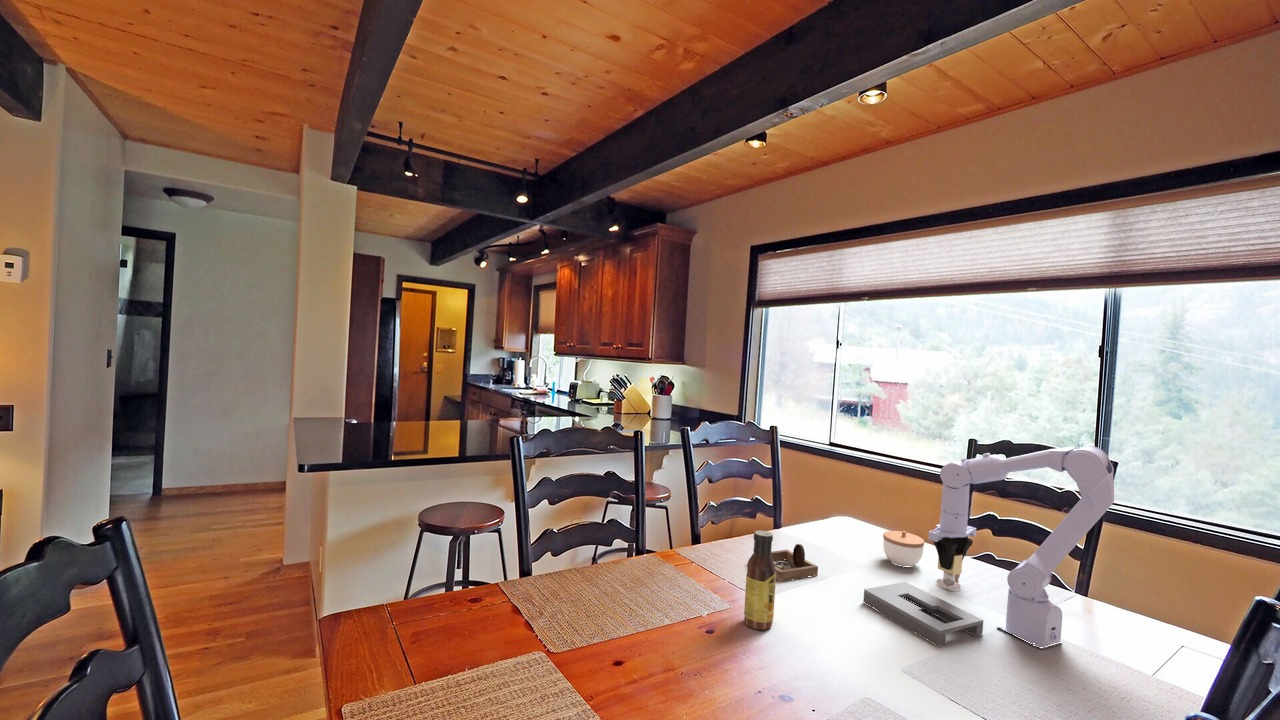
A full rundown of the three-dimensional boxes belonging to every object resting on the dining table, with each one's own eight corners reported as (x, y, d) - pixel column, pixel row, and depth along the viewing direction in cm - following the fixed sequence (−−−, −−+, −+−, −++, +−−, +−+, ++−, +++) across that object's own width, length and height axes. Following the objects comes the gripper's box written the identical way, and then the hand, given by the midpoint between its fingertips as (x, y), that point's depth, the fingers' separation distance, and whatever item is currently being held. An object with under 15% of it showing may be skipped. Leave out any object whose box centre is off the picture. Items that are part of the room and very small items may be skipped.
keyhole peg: (965, 590, 132) (967, 555, 132) (950, 593, 130) (953, 557, 130) (945, 581, 136) (948, 547, 136) (931, 584, 134) (934, 549, 134)
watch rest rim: (817, 575, 147) (818, 566, 147) (780, 581, 142) (780, 572, 142) (786, 558, 158) (787, 549, 158) (751, 563, 153) (751, 554, 153)
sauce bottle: (773, 633, 116) (779, 540, 115) (743, 629, 117) (749, 536, 116) (772, 618, 122) (778, 530, 122) (743, 614, 123) (749, 527, 123)
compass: (768, 565, 152) (770, 539, 152) (796, 566, 153) (798, 540, 153) (778, 578, 144) (780, 550, 144) (807, 578, 145) (809, 551, 145)
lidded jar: (924, 562, 161) (926, 531, 161) (920, 574, 152) (922, 541, 151) (884, 553, 167) (886, 522, 166) (878, 564, 157) (881, 532, 157)
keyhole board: (982, 634, 120) (983, 620, 120) (938, 646, 114) (939, 630, 114) (904, 594, 138) (905, 581, 138) (863, 602, 133) (864, 589, 132)
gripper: (958, 504, 139) (954, 557, 140) (918, 509, 133) (914, 564, 133) (986, 513, 133) (982, 568, 133) (945, 518, 127) (941, 576, 127)
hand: (950, 567), depth 133 cm, fingers closed on keyhole peg, 3 cm apart
